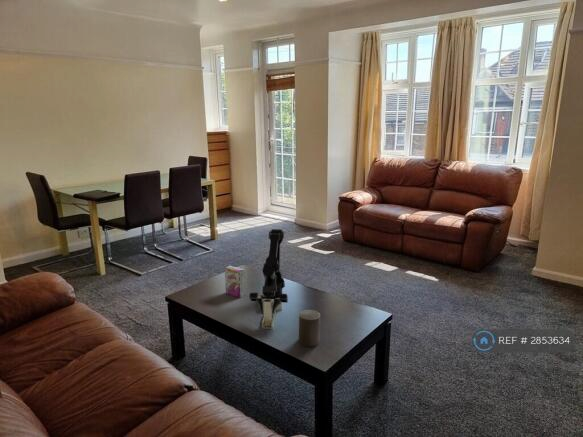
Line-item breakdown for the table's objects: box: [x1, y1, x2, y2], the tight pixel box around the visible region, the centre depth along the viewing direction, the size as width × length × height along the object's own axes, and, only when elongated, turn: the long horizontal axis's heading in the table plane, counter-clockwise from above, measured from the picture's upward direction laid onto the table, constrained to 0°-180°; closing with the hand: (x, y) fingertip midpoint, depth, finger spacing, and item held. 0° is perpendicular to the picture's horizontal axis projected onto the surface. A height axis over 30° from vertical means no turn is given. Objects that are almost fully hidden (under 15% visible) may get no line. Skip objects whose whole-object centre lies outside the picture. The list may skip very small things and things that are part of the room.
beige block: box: [263, 299, 273, 326], centre depth 205 cm, size 12×4×13 cm, turn 175°
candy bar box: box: [224, 265, 246, 298], centre depth 236 cm, size 11×5×16 cm, turn 58°
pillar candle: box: [298, 309, 321, 348], centre depth 187 cm, size 10×10×15 cm
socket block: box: [262, 299, 284, 311], centre depth 220 cm, size 5×10×6 cm, turn 85°
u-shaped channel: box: [261, 310, 277, 330], centre depth 207 cm, size 14×5×3 cm, turn 175°
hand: (267, 314), depth 199 cm, fingers open, 5 cm apart
